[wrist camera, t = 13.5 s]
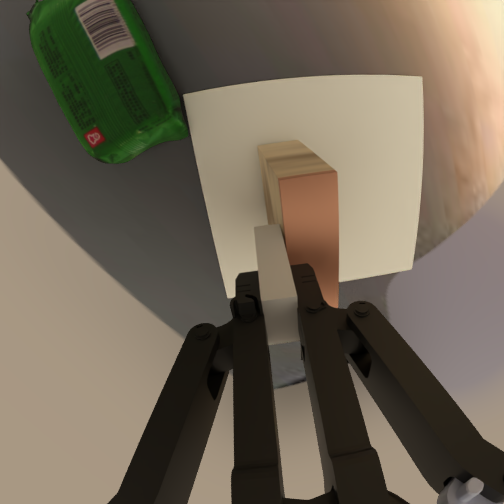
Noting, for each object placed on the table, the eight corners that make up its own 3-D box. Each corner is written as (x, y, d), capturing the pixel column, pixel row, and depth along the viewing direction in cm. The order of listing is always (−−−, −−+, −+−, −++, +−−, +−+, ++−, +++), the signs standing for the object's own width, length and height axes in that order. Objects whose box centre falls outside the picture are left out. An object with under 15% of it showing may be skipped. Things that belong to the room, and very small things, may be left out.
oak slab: (257, 145, 22) (279, 180, 15) (298, 139, 22) (337, 172, 16) (273, 262, 28) (293, 328, 21) (307, 255, 28) (337, 318, 21)
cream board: (183, 94, 21) (183, 94, 20) (419, 76, 20) (422, 76, 20) (227, 295, 30) (227, 298, 30) (410, 267, 29) (411, 269, 29)
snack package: (119, -39, 14) (91, -59, 10) (201, 126, 22) (191, 141, 18) (45, 13, 16) (7, 8, 11) (121, 167, 23) (96, 192, 19)
